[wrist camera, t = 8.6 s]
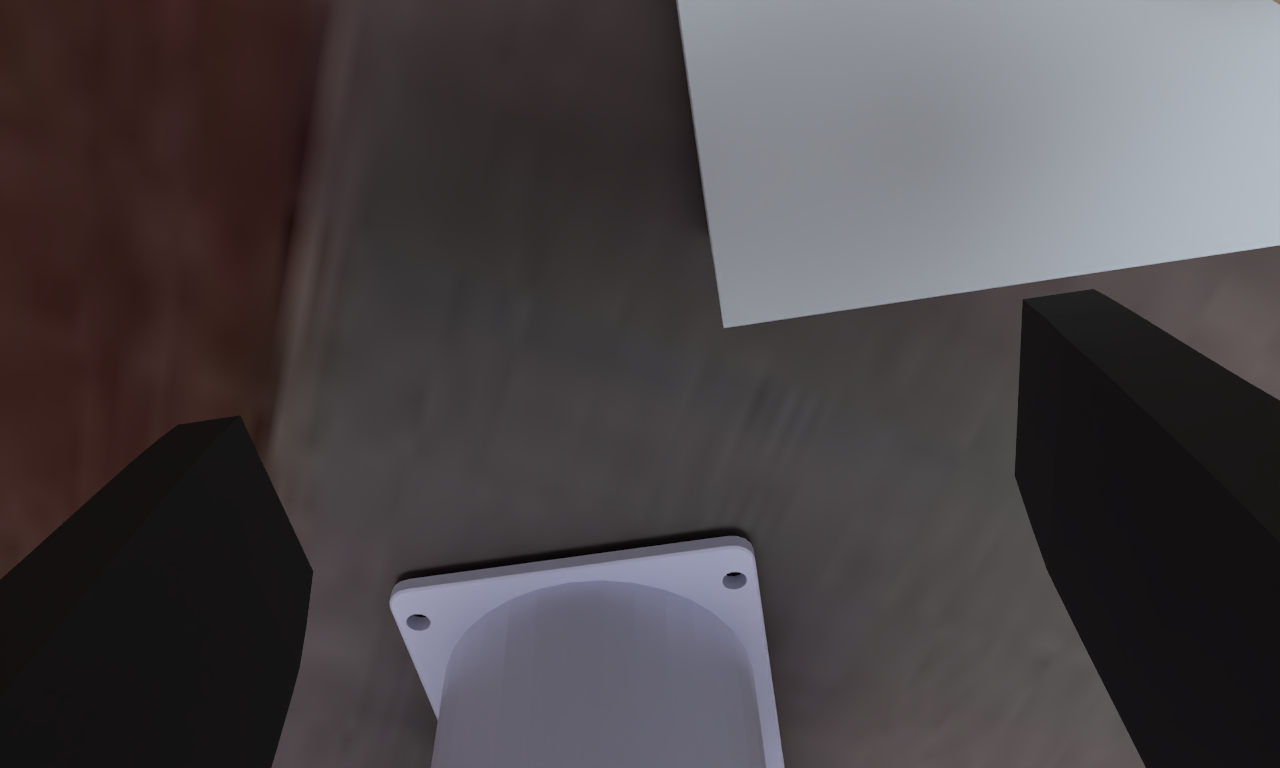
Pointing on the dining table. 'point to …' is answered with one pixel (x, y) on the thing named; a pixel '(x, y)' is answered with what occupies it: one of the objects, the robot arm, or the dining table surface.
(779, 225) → the grey-blue platform
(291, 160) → the dining table surface
